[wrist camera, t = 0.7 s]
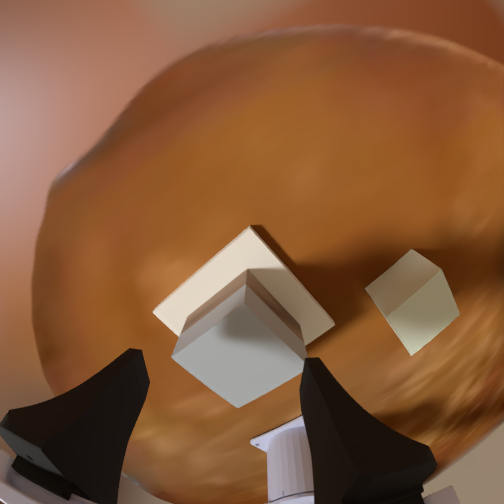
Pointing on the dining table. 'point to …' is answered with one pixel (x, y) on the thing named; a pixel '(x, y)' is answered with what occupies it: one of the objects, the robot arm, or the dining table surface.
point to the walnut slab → (257, 288)
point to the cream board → (264, 270)
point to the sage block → (414, 300)
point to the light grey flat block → (241, 349)
